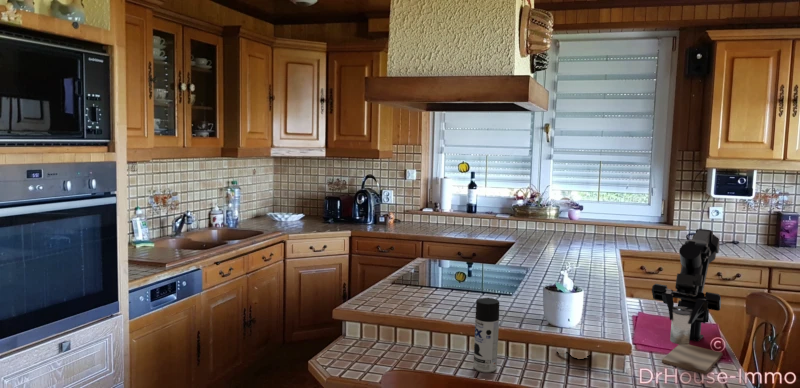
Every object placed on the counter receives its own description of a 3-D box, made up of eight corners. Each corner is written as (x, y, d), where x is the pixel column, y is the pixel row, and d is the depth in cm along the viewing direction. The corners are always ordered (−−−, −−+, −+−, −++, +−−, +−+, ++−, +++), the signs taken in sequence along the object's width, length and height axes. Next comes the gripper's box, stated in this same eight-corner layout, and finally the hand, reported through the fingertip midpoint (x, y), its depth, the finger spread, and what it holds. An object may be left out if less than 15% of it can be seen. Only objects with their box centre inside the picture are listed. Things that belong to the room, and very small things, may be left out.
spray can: (469, 365, 176) (471, 298, 173) (489, 361, 179) (491, 296, 176) (480, 374, 170) (483, 305, 167) (501, 371, 173) (504, 303, 170)
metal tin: (669, 336, 186) (672, 305, 184) (689, 339, 183) (692, 307, 182) (669, 343, 181) (672, 310, 179) (689, 346, 179) (692, 313, 177)
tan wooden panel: (680, 345, 194) (681, 342, 194) (722, 356, 187) (722, 352, 186) (661, 362, 181) (662, 359, 181) (705, 374, 173) (705, 371, 173)
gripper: (655, 258, 187) (644, 302, 180) (723, 267, 177) (714, 314, 169) (658, 277, 195) (648, 320, 187) (724, 287, 184) (716, 333, 177)
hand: (680, 321), depth 180 cm, fingers closed on metal tin, 5 cm apart
